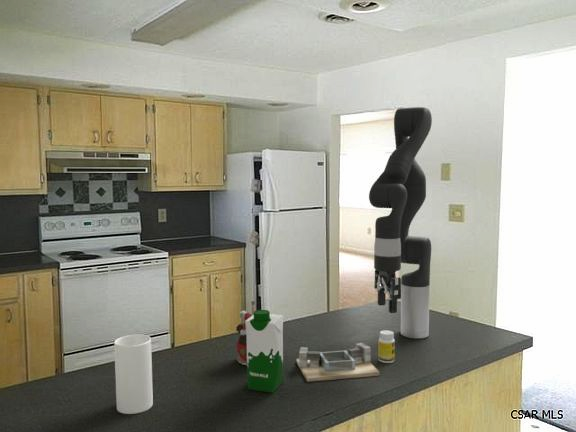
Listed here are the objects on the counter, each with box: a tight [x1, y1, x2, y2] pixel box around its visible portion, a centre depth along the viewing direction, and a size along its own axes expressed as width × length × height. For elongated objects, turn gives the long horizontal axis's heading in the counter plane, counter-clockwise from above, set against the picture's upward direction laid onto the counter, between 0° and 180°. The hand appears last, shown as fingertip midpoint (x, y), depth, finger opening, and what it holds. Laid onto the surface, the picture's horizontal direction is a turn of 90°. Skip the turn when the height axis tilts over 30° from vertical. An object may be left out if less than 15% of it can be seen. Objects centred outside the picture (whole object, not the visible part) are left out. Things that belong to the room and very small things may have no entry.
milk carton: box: [244, 309, 284, 394], centre depth 129 cm, size 9×9×20 cm
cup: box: [113, 334, 154, 415], centre depth 118 cm, size 8×8×16 cm
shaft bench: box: [295, 342, 380, 382], centre depth 140 cm, size 14×21×5 cm
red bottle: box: [235, 300, 256, 366], centre depth 146 cm, size 11×9×18 cm
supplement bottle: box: [377, 329, 396, 364], centre depth 146 cm, size 5×5×8 cm
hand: (386, 308), depth 145 cm, fingers open, 8 cm apart
